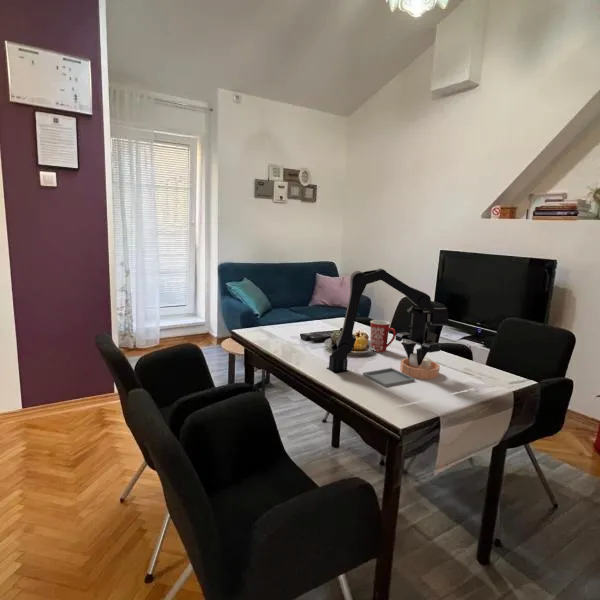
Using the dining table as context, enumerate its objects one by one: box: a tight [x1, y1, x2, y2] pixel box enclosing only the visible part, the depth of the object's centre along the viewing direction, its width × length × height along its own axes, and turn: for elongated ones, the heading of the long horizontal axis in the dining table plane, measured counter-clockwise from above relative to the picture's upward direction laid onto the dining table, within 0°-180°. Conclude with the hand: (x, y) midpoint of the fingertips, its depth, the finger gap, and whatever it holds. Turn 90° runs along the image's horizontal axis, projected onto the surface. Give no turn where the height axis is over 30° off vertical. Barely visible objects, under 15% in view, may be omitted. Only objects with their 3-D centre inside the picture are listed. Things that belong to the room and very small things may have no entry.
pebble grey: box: [409, 352, 421, 367], centre depth 163 cm, size 4×4×4 cm
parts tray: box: [362, 367, 416, 388], centre depth 158 cm, size 14×13×1 cm
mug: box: [369, 319, 397, 353], centre depth 192 cm, size 13×9×14 cm
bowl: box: [399, 357, 440, 380], centre depth 165 cm, size 14×14×4 cm
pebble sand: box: [419, 357, 432, 370], centre depth 167 cm, size 4×4×4 cm
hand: (414, 363), depth 164 cm, fingers closed on pebble grey, 4 cm apart
